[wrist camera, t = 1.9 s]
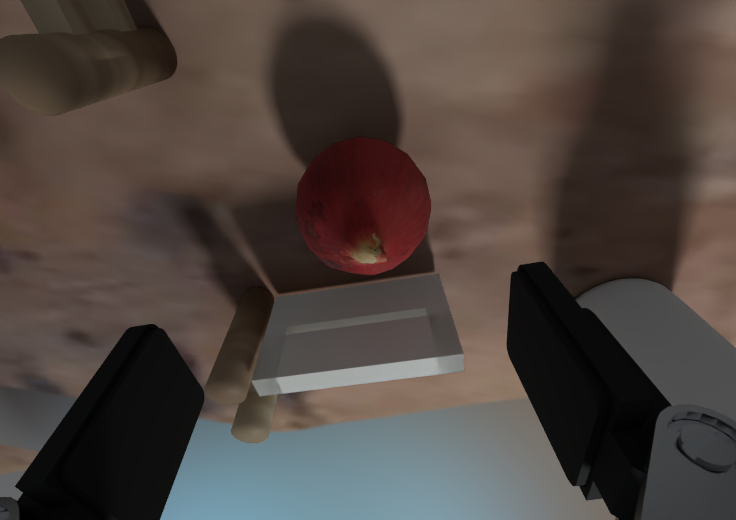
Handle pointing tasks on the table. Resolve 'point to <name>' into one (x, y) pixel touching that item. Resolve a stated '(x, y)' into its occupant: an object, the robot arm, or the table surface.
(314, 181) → the onion
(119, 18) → the fence
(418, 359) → the gate
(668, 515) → the robot arm
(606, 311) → the milk bottle
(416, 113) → the table surface
